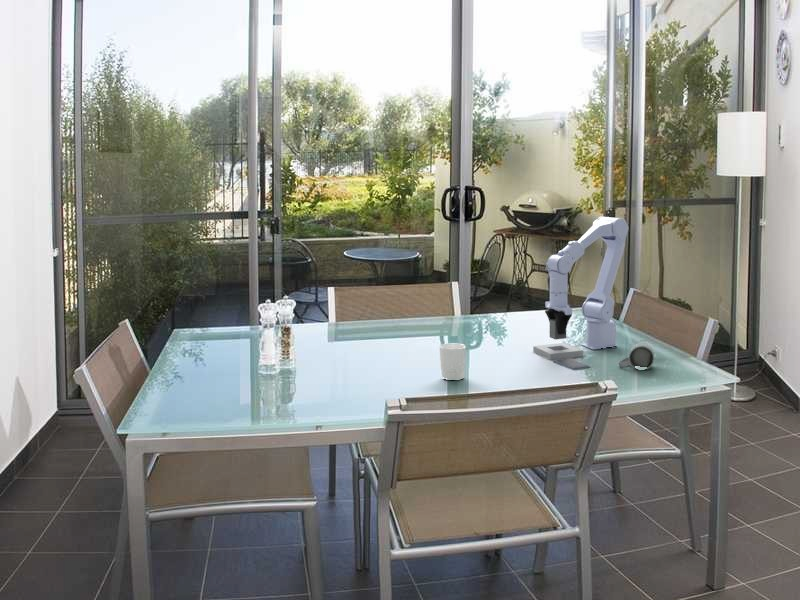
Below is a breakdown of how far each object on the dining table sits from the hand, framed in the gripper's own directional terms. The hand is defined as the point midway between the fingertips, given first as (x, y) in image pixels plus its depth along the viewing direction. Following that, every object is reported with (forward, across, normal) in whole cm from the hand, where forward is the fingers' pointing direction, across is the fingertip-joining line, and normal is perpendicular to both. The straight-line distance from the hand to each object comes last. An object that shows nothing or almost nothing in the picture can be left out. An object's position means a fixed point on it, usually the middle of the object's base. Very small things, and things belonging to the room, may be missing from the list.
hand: (558, 332), depth 308 cm
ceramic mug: (+8, +25, +14) cm, 30 cm away
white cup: (+8, +14, -43) cm, 46 cm away
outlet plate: (+7, 0, 0) cm, 7 cm away
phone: (+8, +14, -3) cm, 16 cm away
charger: (+2, 0, 0) cm, 2 cm away
